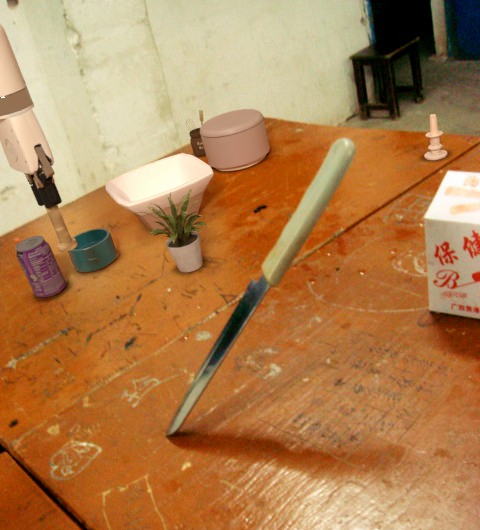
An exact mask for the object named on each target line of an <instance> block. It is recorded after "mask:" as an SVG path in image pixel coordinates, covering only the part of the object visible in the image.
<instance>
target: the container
mask: <svg viewBox="0 0 480 530" xmlns="http://www.w3.org/2000/svg"><path fill="white" fill-rule="evenodd" d="M199 128H200V135H201V138H202V142H203V146H204V149H205V153H206V155H205V156H206V160H207V164H208V165H209V166H211V168H215V170H217V171H221V172H233V171H239V170H243V169H247V168H249V167H252V166H255V165H256V164H258V163H260V162H261V161H263V160H264V159H265V158H266V156H267V154H268V153H269V152H270V150H271V146H270V141H269V137H268V131H267V128H266V122H265V118H264V114H263V113H262V112H261V111H260V110H257V109H255V108H254V109H253V108H241V109H235V110H232V111H227V112H224V113H221V114H217V115H215V116H214V117H211V118H209V119H207V120H206V121H204V123H203V125H202V126H200V127H199Z"/></svg>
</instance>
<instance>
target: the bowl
mask: <svg viewBox="0 0 480 530" xmlns="http://www.w3.org/2000/svg"><path fill="white" fill-rule="evenodd" d="M212 168H213V167H211V166H210V165H209V164H208V163H206V162H204V161H203V160H202V159H200V158H199V157H197V156H195V155H194V154H193V155H192V154H188V153H185V152H180V153H177V154H174V155H171V156H167V157H163V158H161V159H158V160H155V161H152V162H150V163H146V164H143V165H141V166H138V167H136V168H134V169H131V170H129V171H126V172H124V173H122V174H119V175H118V176H116V177H113V178H111V179H109V180H107V181H106V182H105V189H104V190H105V192H106V193H107V194H108V196H110V197H111V199H112V200H113V201H114V202H115V203H116V204H117V205H118V206H120V207H122V208H123V209H125V210H127V211H129V212H131V213H133V214H134V215H135V216H136V217H137V218H138V219H139V220H140V221H141V222H142V223H143V224H144V225H145V226H146V227H147V228H148V229H149V230H151V231H152V230H153V229H161V230H164V231H165V230H166V229H165V228H164V227H163V226H161V225H160V224H158V223H156V221H158V222H160V221H161V223H164V224H165V226H166V227H167V228H168V227H169V226H168V225H167V224H166V222H165V221H164V220H163V219H162V218H160V216H158V215H157V214H155V213H154V212H153V211H152V210H150V209H149V208H151V207H153V208H155V209H157V210H158V211H160V212H161V213H162V214H163V212H162V211H161V210H160V209H159V208H158V207H157V206H156V205H158V206H159V207H160V208H161V209H162V210H163V211H164V212H165V214H166V215H171V216H172V213H171V208H170V204H169V200H168V197H169V196H170V192H171V200H172V202H173V203H174V205H175V208H176V212H177V215H180V210H181V206H182V204H183V201H184V198H185V196H186V194H187V193H188V192H189V191H190V190H191V189H192V191H191V193H190V195H189V203H188V207H187V211H186V212H190V213H186V216H187V214H188V215H189V214H191V213H193V212H195V213H193V214H192V215H199V212H200V207H201V203H202V200H203V196H204V193H205V190H206V188H207V187H208V185H209V184H210V182H211V180H212V179H213V177H214V171H213V169H212ZM184 195H185V196H184ZM167 196H168V197H167ZM183 197H184V198H183ZM182 198H183V199H182ZM181 199H182V201H181V203H180V204H179V202H180V200H181ZM198 199H200V200H198ZM197 200H198V201H197ZM195 201H197V202H196V203H195V204H194V205H193V203H194V202H195ZM149 203H152V204H149ZM154 204H156V205H154ZM178 204H179V207H178V211H177V206H178ZM192 205H193V206H192ZM148 206H151V207H148ZM191 206H192V208H191ZM147 207H148V208H147ZM190 208H191V209H190ZM189 210H190V211H189ZM196 211H197V212H196ZM135 212H145V213H135ZM146 213H148V214H146ZM149 214H150V215H149ZM151 215H152V216H151ZM163 215H164V214H163ZM153 216H154V217H153ZM164 216H165V215H164ZM186 216H185V217H186ZM190 216H191V215H190ZM190 216H189V217H190ZM157 217H158V218H157ZM189 217H188V218H189ZM155 218H157V219H155ZM172 218H173V217H172ZM188 218H187V219H186V221H185V222H187V220H188ZM154 219H155V220H154ZM159 220H160V221H159ZM173 220H174V219H173ZM153 222H154V223H153ZM151 223H152V224H151ZM169 228H170V227H169ZM169 228H168V229H169Z"/></svg>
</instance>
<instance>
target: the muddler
mask: <svg viewBox="0 0 480 530" xmlns="http://www.w3.org/2000/svg"><path fill="white" fill-rule="evenodd" d="M42 173H43V172H42ZM42 173H41V174H42ZM41 174H39V176H40V177H41ZM33 179H34V181H35V184H36V186H37V188H39V186H38V184H37V182H36V179H35V177H33ZM45 210H46V213H47V215H48V217H49V219H50V222H51V224H52V227H53V230H54V232H55V235H56V237H57V239H58V242H57V244H56V246H57V248H58V251H59V252H60V253H68V252H67V251H70V250H73V249H74V248H76V247H77V245H78V244H77V242H76V239H75V238H73V237H71V235H70V232H69V230H68V227H67V225H66V222H65V220H64V218H63V215H62V212H61V209H60V208H59V204H58V205H56V206H54V207H51V208H49V209H47V208H45Z"/></svg>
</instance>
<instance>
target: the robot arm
mask: <svg viewBox="0 0 480 530" xmlns="http://www.w3.org/2000/svg"><path fill="white" fill-rule="evenodd" d="M34 107H35V103H34V102H33V99H32V96H31V94H30V90H29V88H28V86H27V83H26V81H25V78H24V75H23V73H22V71H21V68H20V65H19V62H18V59H17V58H16V55H15V52H14V50H13V48H12V44H11V42H10V40H9V37H8V34H7V32H6V30H5V28H4V26H3V25H2V24H0V145H1V148H2V149H3V152H4V154H5V158H6V160H7V163H8V165H9V167H10V168H11V169H12V170H14V171H17V172H20V173H23V174H24V176H25V178H26V180H27V183H28V184H29V186H30V188H31V192H32V194H33V196H34V199H35V201H36V203H37V205H38V206H39V207H43V206H44V208H45V209H46V208H47V209H49V208H51V207H54V206H56V205H58V206H59V205H60V204H62V201H63V199H62V198H61V194H60V192H59V190H58V187H57V185H56V181H55V178H54V175H55V174H56V172H55V170H54V168H53V166H54V164H55V159H54V156H53V152H52V150H51V147H50V145H49V142H48V140H47V137H46V135H45V133H44V131H43V128H42V126H41V124H40V122H39V120H38V118H37V116H36V114H35V112H34V110H33V108H34ZM41 173H42V174H41ZM39 174H41V177H40V176H39ZM33 177H35V179H36V182H37V184H38V186H39V188H37V186H36V184H35V181H34V179H33Z"/></svg>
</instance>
